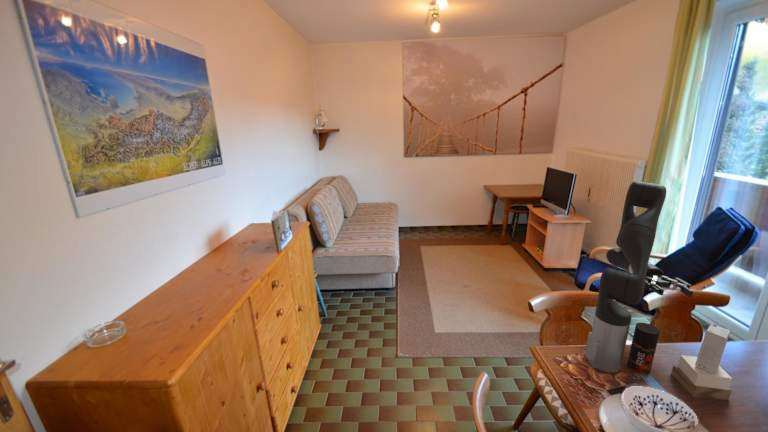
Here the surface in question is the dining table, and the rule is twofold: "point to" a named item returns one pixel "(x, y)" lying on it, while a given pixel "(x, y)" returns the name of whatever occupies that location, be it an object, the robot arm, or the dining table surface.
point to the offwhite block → (704, 374)
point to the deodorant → (643, 348)
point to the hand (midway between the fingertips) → (676, 293)
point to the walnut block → (699, 387)
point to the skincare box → (712, 348)
